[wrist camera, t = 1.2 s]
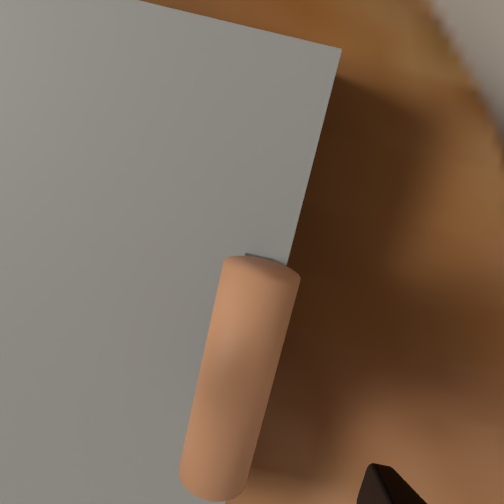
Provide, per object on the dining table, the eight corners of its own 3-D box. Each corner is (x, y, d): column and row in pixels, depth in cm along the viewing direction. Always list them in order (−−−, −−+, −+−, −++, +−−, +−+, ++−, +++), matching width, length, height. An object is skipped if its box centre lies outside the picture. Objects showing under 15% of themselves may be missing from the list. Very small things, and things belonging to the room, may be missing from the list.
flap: (217, 539, 20) (203, 662, 15) (-61, 483, 19) (-161, 592, 15) (342, 52, 14) (378, 18, 10) (-38, -39, 14) (-181, -118, 10)
